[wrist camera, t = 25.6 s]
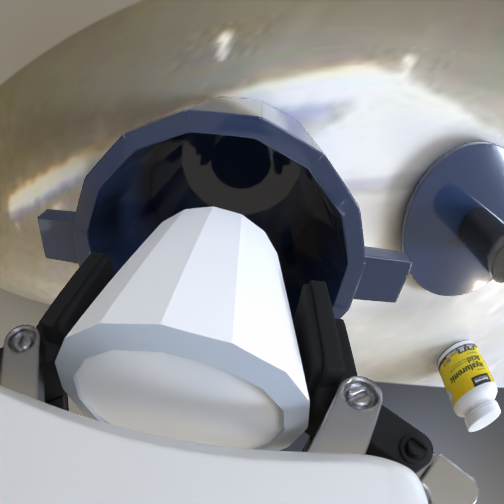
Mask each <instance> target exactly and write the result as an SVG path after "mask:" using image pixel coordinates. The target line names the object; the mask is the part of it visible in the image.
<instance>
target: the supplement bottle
mask: <svg viewBox="0 0 504 504" xmlns="http://www.w3.org/2000/svg"><path fill="white" fill-rule="evenodd" d="M437 366H438V370H439V373H440V375H441V378H442V380H443V383H444V385H445V388H446V390H447V393H448V396H449V398H450V401H451V404H452V406H453V409H454V411H455V413H456V415H458V416H459V417H466V418H465V424H466V427H467V429H468V431H469V432H474V431H477V430H480V429H482V428H484V427H485V426H487V425H489V424H490V423H492V422H493V421H494V420H495V419H496V418H497V417H498V416H499V415H500V412H501V411H500V408H499V406H498V403H497V402H496V401H495V400H494V398H495V397H496V394H497V386H496V384H495V382H494V380H493V377H492V375H491V373H490V371H489V369H488V367H487V365H486V363H485V361H484V359H483V357H482V356H481V354H480V352H479V350H478V348H477V346H476V345H475V343H474V342H472V341H469V340H465V341H461V342H459V343H456V344H454V345H453V346H451V347H450V348H448V349H447V350H446V351H445V352H444V353H443V354H442V355H441V357H440V358H439V360H438V365H437Z"/></svg>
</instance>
